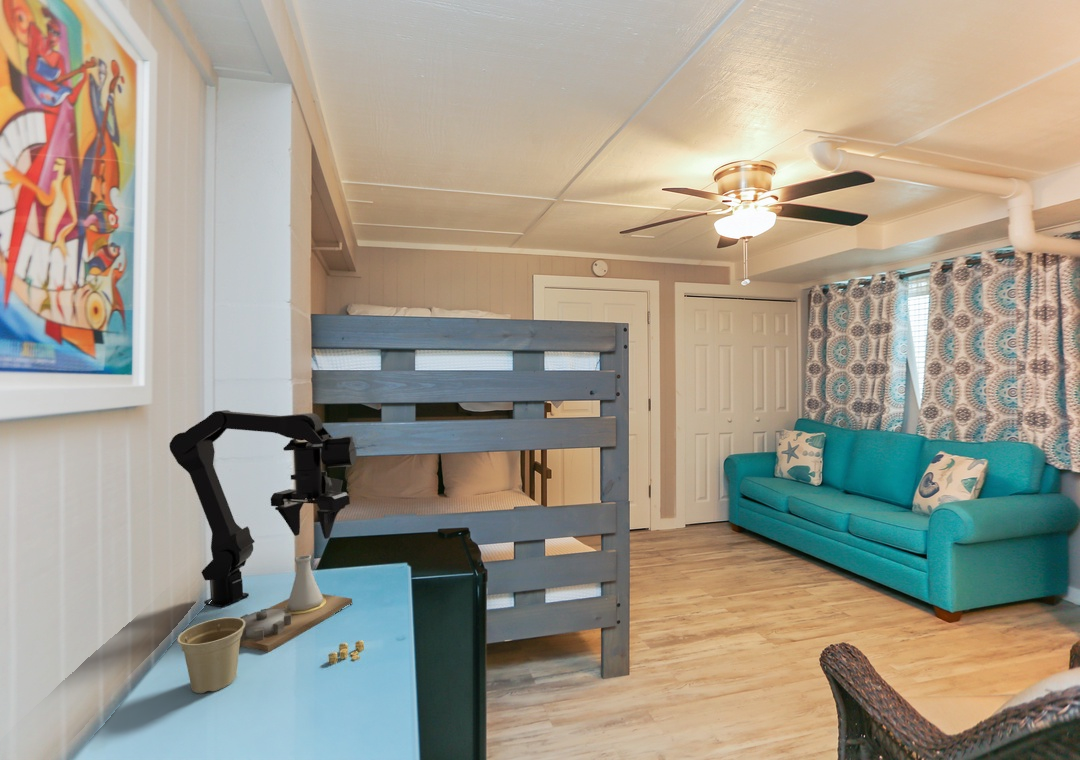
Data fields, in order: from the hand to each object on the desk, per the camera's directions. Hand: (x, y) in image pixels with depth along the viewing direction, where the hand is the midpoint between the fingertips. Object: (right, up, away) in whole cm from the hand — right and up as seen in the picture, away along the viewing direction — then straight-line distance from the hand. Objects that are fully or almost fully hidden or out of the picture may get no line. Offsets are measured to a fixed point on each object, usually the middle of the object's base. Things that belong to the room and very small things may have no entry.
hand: (311, 536), depth 122 cm
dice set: (+19, -13, -28) cm, 36 cm away
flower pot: (0, -14, -35) cm, 38 cm away
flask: (+3, -12, -10) cm, 15 cm away
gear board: (+1, -13, -14) cm, 19 cm away
